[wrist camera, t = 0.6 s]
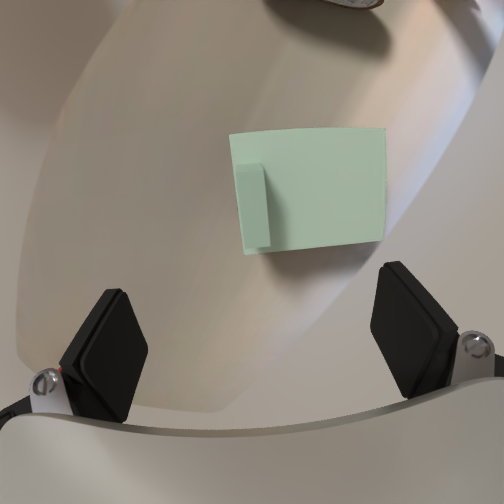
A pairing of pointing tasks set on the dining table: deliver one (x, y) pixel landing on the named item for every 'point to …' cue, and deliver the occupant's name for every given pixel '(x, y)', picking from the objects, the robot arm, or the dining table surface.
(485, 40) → the dining table surface
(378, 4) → the tin
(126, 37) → the dining table surface
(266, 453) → the robot arm
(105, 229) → the dining table surface
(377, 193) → the lid
